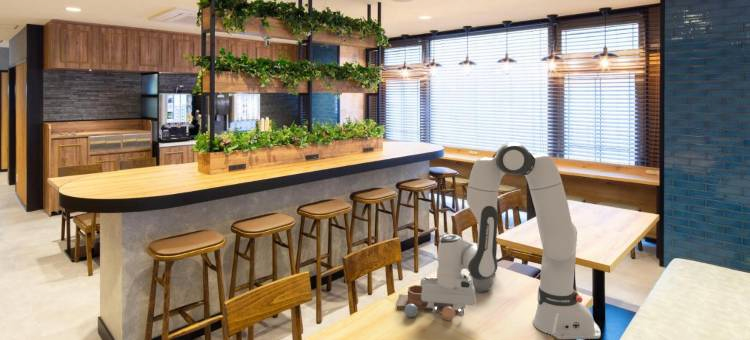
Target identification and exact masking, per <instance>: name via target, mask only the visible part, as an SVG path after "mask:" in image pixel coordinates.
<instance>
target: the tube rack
mask: <svg viewBox="0 0 750 340" xmlns="http://www.w3.org/2000/svg"><path fill="white" fill-rule="evenodd" d="M421 293H422V287H421V284H419V285H418V284H414V285H411V286H408V287H407V294H399V295H398V299H397V303H396V310H402V311H403V310H404V311H405V307H406V305H408V304H414V305H416V307H417V309H418V312H431V313H433V308H432V307H431V305H430V302H424V301H422V299H421ZM434 306H435V307H437V313H442V309H443V308H444V307H446V306H450V307H452V308H453V309H454V311H455V314H457V315H458V309H461V307H462V305H460V304H448V303H436V302H434ZM464 314H465V309H464V310H463V312H462V315H464Z"/></svg>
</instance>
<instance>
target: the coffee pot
mask: <svg viewBox="0 0 750 340" xmlns="http://www.w3.org/2000/svg"><path fill="white" fill-rule="evenodd" d="M511 256H512V257H515V254H514V253H513V252H511V253H509V254H506V255H504V256H501V257H500V258H498V259H497V263H499V262H501V261H504V260H505V259H507V258H510V257H511ZM468 275H469V276H471V277H472V279H473V285H474V289H475V293H484V292H488V291H489V290H490V289H491V288H492V287H493V285H494V282H493V278H492V277H491V278H489V279H487V280H483V281H481V280H477V279H475V278H474V277H473V276H472V275H471V274H470V272H469V273H468Z"/></svg>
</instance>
